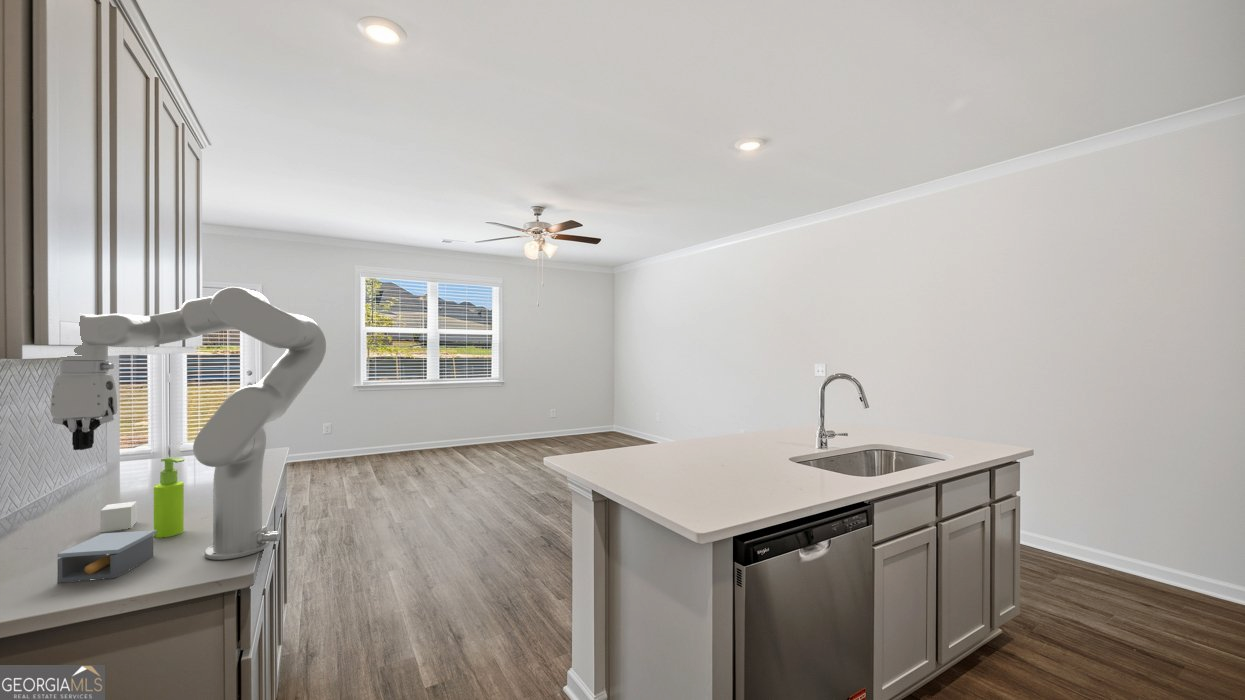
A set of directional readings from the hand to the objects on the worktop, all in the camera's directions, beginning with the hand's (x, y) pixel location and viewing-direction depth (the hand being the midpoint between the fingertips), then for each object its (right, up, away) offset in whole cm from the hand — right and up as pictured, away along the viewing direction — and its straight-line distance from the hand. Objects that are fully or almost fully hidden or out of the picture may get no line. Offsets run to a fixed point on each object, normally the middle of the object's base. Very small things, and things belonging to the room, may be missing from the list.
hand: (83, 448), depth 116 cm
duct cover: (+10, -21, -3) cm, 23 cm away
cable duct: (+9, -26, -3) cm, 28 cm away
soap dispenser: (+4, -26, +18) cm, 32 cm away
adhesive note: (-15, -26, +23) cm, 38 cm away
